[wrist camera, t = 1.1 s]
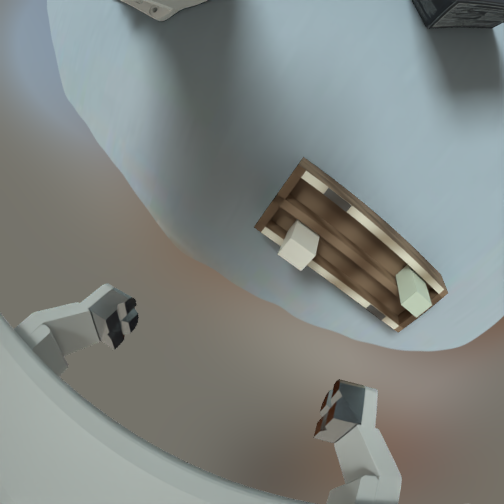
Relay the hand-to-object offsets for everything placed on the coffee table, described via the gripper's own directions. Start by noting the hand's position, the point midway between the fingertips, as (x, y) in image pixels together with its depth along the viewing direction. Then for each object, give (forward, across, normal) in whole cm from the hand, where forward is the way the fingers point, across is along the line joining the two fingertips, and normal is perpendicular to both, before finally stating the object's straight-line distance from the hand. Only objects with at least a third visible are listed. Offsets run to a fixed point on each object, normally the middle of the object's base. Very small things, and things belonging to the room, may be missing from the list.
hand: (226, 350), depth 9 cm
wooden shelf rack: (+26, -7, +6) cm, 28 cm away
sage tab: (+24, -14, +7) cm, 29 cm away
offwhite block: (+23, 0, +5) cm, 24 cm away
